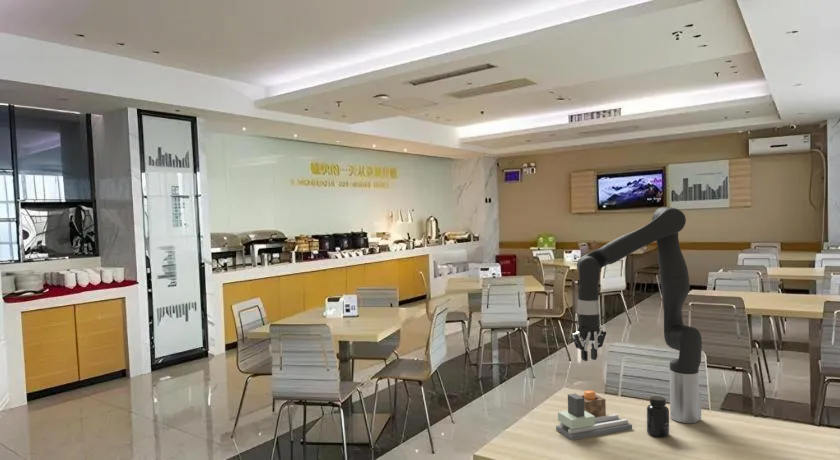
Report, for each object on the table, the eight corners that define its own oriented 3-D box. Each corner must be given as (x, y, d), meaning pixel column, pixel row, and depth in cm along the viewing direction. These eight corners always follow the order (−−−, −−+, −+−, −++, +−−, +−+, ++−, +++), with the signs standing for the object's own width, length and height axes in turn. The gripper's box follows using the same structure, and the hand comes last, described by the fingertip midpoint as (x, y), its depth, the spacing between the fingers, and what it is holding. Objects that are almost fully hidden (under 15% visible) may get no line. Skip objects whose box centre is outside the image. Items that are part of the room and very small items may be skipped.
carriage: (580, 416, 189) (580, 391, 189) (595, 425, 182) (594, 398, 182) (558, 420, 186) (557, 394, 186) (571, 429, 179) (571, 401, 179)
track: (614, 419, 195) (614, 412, 195) (632, 429, 186) (632, 421, 186) (556, 429, 187) (556, 422, 187) (571, 440, 178) (571, 431, 178)
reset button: (591, 400, 199) (590, 389, 199) (597, 404, 195) (597, 392, 195) (582, 402, 198) (582, 391, 198) (588, 405, 194) (588, 394, 194)
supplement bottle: (671, 438, 178) (671, 402, 177) (649, 437, 179) (648, 401, 179) (666, 430, 184) (666, 395, 184) (645, 429, 186) (644, 394, 185)
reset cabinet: (593, 413, 201) (593, 393, 201) (605, 420, 195) (605, 399, 194) (573, 416, 198) (573, 396, 198) (585, 423, 192) (585, 402, 192)
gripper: (598, 308, 201) (599, 355, 202) (565, 311, 197) (566, 359, 197) (611, 312, 194) (612, 360, 195) (578, 315, 190) (578, 364, 190)
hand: (589, 359), depth 196 cm, fingers open, 3 cm apart
